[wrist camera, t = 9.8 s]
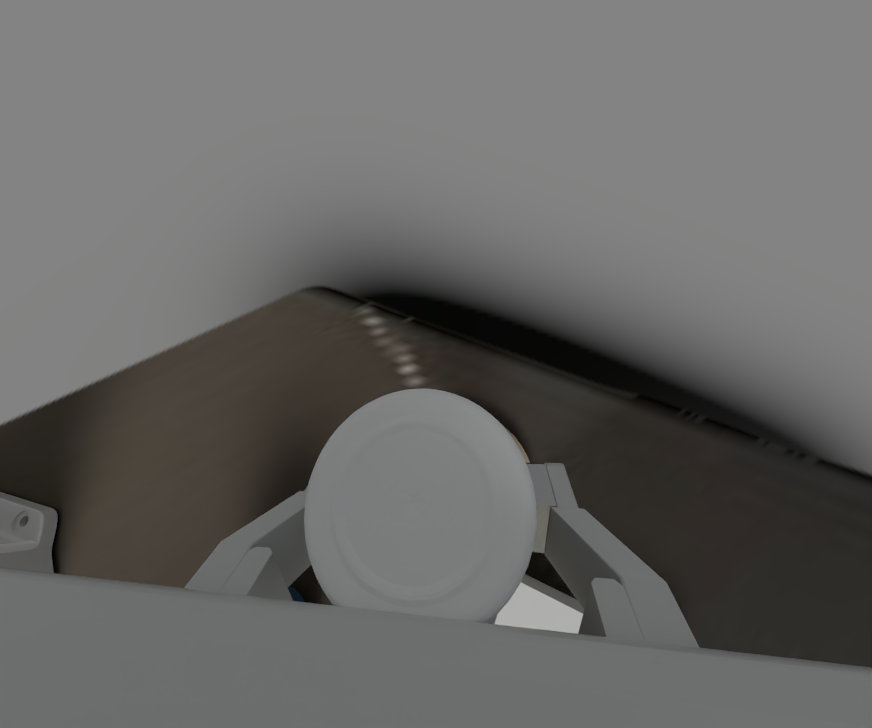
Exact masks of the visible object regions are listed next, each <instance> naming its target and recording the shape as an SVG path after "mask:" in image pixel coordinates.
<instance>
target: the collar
mask: <svg viewBox="0 0 872 728" xmlns="http://www.w3.org/2000/svg"><path fill="white" fill-rule="evenodd" d="M583 613H584V609H583V607H582V606H581V605H580V603H579V602H578V600H576V599H574V598H572V597H570V596H568V595H566V594H564V593H562V592H560V591H558V590H556V589H554V588H552V587H550V586H548V585H546V584H544V583H542V582H540V581H538V580H536V579H534V578H532V577H530V576H528V575H526V574H524V576H523V578H522V580H521V582H520V584H519V586H518V588H517V589H516V591H515V593H514V594H513V596H512V597H511V599H510V600H509V602H508V603H507V604H506V605H505V606H504V607H503V608H502V610H501V611H500V612H499V613H498V614H497V615H496V616H495V617H494V618H493V619H492V620H491V621H489V622H488V623H489V624H498V625H506V626H515V627H524V628H532V629H541V630H550V631H558V632H567V633H576V634H578V632H579V628H580V625H581V621H582V617H583Z"/></svg>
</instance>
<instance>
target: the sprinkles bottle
mask: <svg viewBox="0 0 872 728" xmlns="http://www.w3.org/2000/svg"><path fill="white" fill-rule="evenodd" d="M536 525H537V509H536V500H535V493H534V487H533V482H532V479H531V475H530V472H529V469H528V467H527V464H526V462H525V459H524V457H523V455H522V453H521V451H520V449H519V448H518V446H517V444H516V443H515V441H514V439H513V438H512V437H511V435H510V434H509V433H508V432H507V430H506V429H505V428H504V426H503V425H502V424H501V423H500V422H499V421H498V420H497V419H496V418H494V417H493V416H492V415H491V414H490V413H489V412H487V411H486V410H485V409H483V408H482V407H481V406H479V405H477V404H475V403H474V402H472V401H470V400H468V399H466V398H464V397H461V396H458V395H456V394H453V393H449V392H446V391H441V390H435V389H410V390H403V391H398V392H394V393H391V394H388V395H385V396H382V397H380V398H378V399H376V400H374V401H372V402H370V403H368V404H366V405H364V406H363V407H361V408H360V409H358V410H357V411H355V412H354V413H353V414H351V415H350V416H349V418H348V419H346V420H345V421H344V422H343V423H342V424H341V425H340V426H339V427H338V428H337V430H336V431H335V432H334V433H333V435H332V436H331V437H330V439H329V440H328V442H327V443H326V445H325V446H324V448H323V450H322V451H321V453H320V455H319V457H318V459H317V461H316V464H315V466H314V469H313V471H312V474H311V477H310V480H309V484H308V489H307V493H306V499H305V512H304V529H305V541H306V546H307V551H308V556H309V559H310V562H311V565H312V568H313V570H314V573H315V576H316V578H317V580H318V582H319V584H320V586H321V588H322V590H323V591H324V593H325V594H326V596H327V597H328V599H329V600H330V601H331V603H332V604H333V605H334V606H341V607H350V608H358V609H367V610H376V611H385V612H393V613H402V614H411V615H419V616H428V617H437V618H445V619H454V620H463V621H472V622H480V623H488V622H489V621H491V620H492V619H493V618H494V617H495V616H496V615H497V614H498V613H499V612H500V611H501V610H502V608H503V607H504V606H505V605H506V604H507V603H508V602H509V600H510V599H511V597H512V596H513V594H514V593H515V591H516V589H517V588H518V586H519V584H520V582H521V580H522V578H523V576H524V574H525V572H526V570H527V568H528V565H529V561H530V558H531V554H532V551H533V547H534V540H535V533H536Z"/></svg>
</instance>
